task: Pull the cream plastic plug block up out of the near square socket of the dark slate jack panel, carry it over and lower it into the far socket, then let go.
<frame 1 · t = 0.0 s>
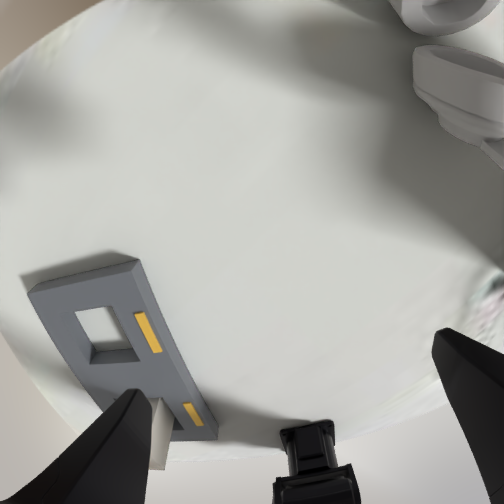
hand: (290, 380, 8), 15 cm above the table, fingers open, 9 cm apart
headphones: (422, 44, 16), on the table
panel: (131, 368, 27), on the table
plug: (153, 401, 29), resting in panel
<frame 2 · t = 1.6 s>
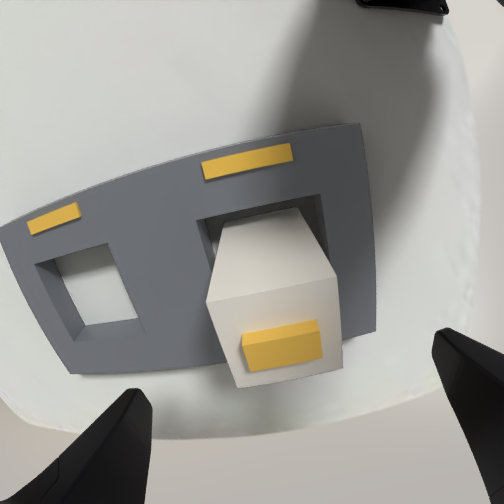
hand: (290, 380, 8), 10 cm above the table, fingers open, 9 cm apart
panel: (175, 267, 17), on the table
plug: (267, 248, 17), resting in panel
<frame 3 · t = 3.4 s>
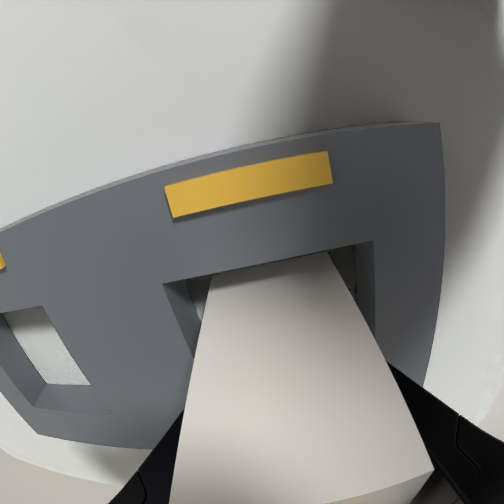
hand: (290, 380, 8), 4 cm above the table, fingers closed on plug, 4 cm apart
panel: (144, 333, 12), on the table
plug: (279, 310, 11), resting in panel, touching gripper
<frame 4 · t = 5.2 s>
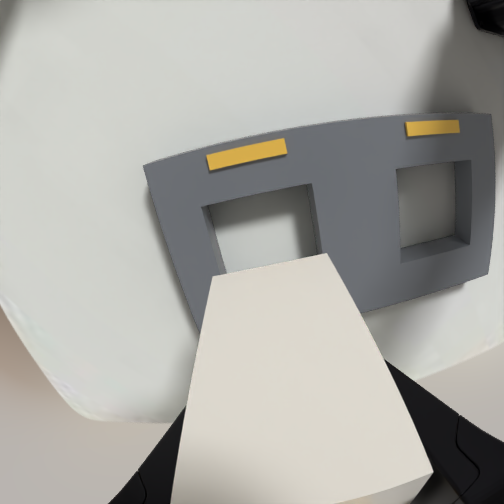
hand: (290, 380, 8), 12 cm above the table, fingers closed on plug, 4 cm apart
panel: (351, 216, 18), on the table
plug: (279, 312, 11), point 8 cm above the table, touching gripper
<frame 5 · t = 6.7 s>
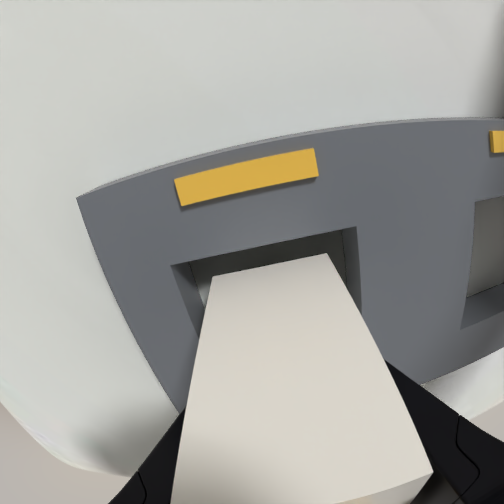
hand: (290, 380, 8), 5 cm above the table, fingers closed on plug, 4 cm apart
panel: (400, 265, 12), on the table
plug: (279, 312, 11), point 1 cm above the table, touching gripper
when the fingers open (4 cm above the table, at t = 7.5 s): plug stays where it is, resting in panel.
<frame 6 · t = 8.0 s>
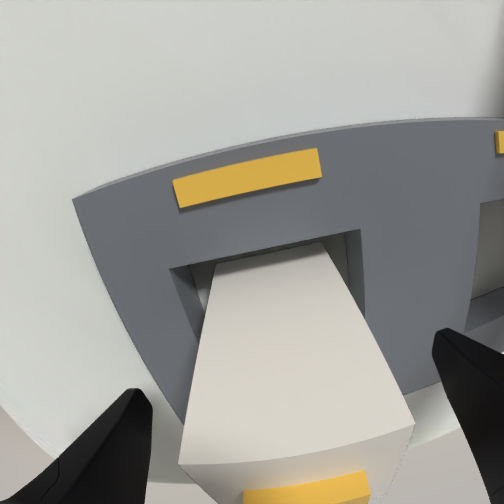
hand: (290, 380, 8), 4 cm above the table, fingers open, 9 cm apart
panel: (403, 268, 12), on the table
plug: (278, 298, 12), resting in panel
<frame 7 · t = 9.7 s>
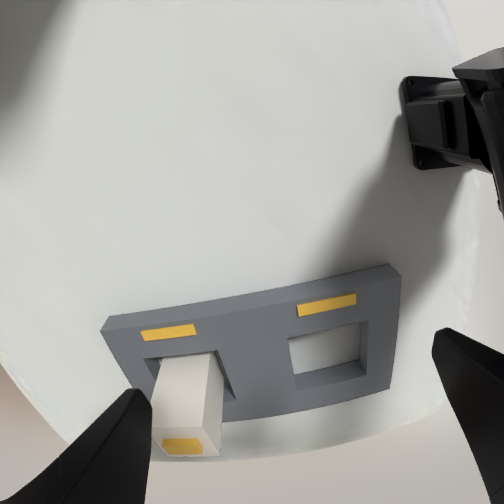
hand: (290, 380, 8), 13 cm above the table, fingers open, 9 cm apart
panel: (258, 356, 24), on the table
plug: (195, 365, 24), resting in panel
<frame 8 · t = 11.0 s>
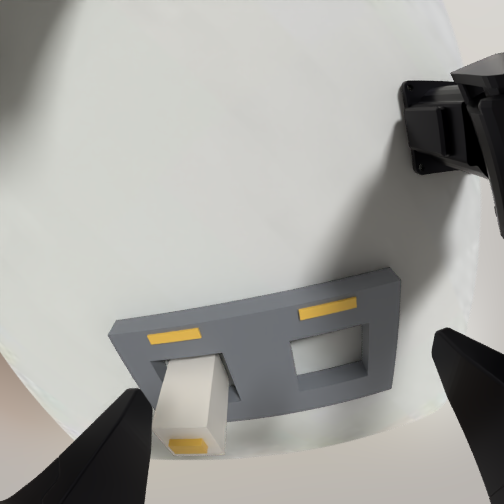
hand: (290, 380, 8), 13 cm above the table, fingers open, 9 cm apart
panel: (262, 357, 24), on the table
plug: (200, 366, 25), resting in panel
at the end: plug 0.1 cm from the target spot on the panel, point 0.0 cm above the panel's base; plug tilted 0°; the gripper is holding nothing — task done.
